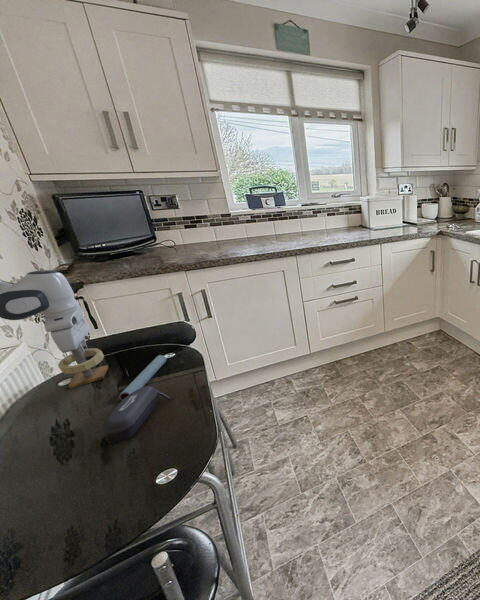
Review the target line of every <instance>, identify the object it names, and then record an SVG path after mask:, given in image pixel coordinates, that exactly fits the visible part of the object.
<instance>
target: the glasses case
mask: <svg viewBox="0 0 480 600" xmlns="http://www.w3.org/2000/svg"><path fill="white" fill-rule="evenodd" d="M159 396H162V397H163V398H165V399H167V400H169V401H170V400H171V397H169V396H168V395H167V394H165V393H163V392H161V391H160V390H158V389H156V388H154V386H148V385H147V386H143V387H142V388H140V389H138V390H136V391H134V392H132V393H131V394H130V395H128V396H127V397H126V398H124V399H123V400H121V401H120V402H119V403H118V404H117V405H115V407H114V408H113V410H111V412H110V413H109V415H108V417H107V418H106V421H105V422H104V425H103V426H104V427H103V431H104V433H105V434H106V435H108V436H111V437H112V438H113V439H114V440H116V441H117V442H119V441H120V442H121V441H125V440H128V439H130V438H132V437H133V436H134V435H136V433H137V432H138V430H139V429H140V428H141V427H142V426H143V424H144V423H145V422H146V420H147V419H148V418H149V416H150V415H151V414H153V411H154V410H155V409H156V408H157V406H158V403H159Z"/></svg>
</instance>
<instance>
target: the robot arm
mask: <svg viewBox="0 0 480 600" xmlns="http://www.w3.org/2000/svg"><path fill="white" fill-rule="evenodd" d="M40 313H42V314H43V317H44V320H45V323H44V329H45V331H46V333H50V336H51V338H52V340H53V342H54V343H55V345H56V347H57V348H58V350H59V351H60V352H62V354H63V353H65V354H66V353H69V352H70V353H71V351H74V350H76V349H77V348H78V347H79V346H80V348H81V350H82V352H83V354H85V352H86V351H85V349H89V348H88V346H87V341H86V336H87V335H88V333H89V332H90V330H91V328H90V325H89V323H88V321H87V319H86V316H85V313H84V311H83V309H82V307H81V305H80V303H79V301H78V300H77V299H76V298H75V293H74V290H73V289H72V286H71V284H70V282H69V281H68V280H67V278H66V276H64V274H63V273H62V272H59V271H57V270H53V269H52V270H51V269H43V270H33V271H30V272H27V273H26V275H24V276H23V277H22V278H21V279H19V280H18V281H17V282H9V281H5V280H2V279H0V318H1V319H4V320H7V321H20V320H24V319H28V318H31V317H34V316H35V315H37V314H40Z"/></svg>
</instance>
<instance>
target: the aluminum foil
mask: <svg viewBox="0 0 480 600" xmlns="http://www.w3.org/2000/svg"><path fill="white" fill-rule="evenodd" d="M167 360H168V359H167V357H166V356H165V355H162V354H159V355H157V356H156V357H155V358H154V359H152V361H151V362H150V363H149V364H148V365H147V366H146V367H145V368H144V369H143V370H142V371H141V372H140V373H139V374H138V375H137V376H136V377H135V378H134V379H133V380H132V381H131V382H130V383H129V384H128V386H126V387H125V388H124V389H123V390H122V391H121V392H120V393H119V395H118V398H119V399H120V400H121V401H122V400H123V399H124V398H126V397H127V396H128V395H130V394H131V393H132V392H134V391H136V390H138V389H140V388H142V387H145V385H146V384H147V383H148V382H149V381H150V380H151V379H152V378H153V377H154V375H156V373H157V372H158V371H159V370H160V368H162V367H163V365H164V364H166V363H167Z"/></svg>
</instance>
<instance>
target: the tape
mask: <svg viewBox="0 0 480 600" xmlns="http://www.w3.org/2000/svg"><path fill="white" fill-rule="evenodd" d="M85 351H86V352H85V354H84V356H85V358H86V357H87V358H88V357H91V358H90V359H88V360H87V361H86V362H84V363H81V364H77V363H76V364H73V363H74V362H76V360H75V358H74V356H73V354H72V353H71V354H69V355H67V356H65V357H64V358H62V359H61V360H60V361H59V362H58V365H57V367H58V369H59V371H60V372H61V373H63V374H64V375H71V374H72V375H73V374H74V375H75V374H76V373H80V372H82V371H85V370H88V369H90V368H91V369H93V368H95V367H96V366H97V365H99V364H100V363H101V362H102V361H103V360H104V358H105V355H104V353H103V351H102V349H99V348H98V347H97V348H96V347H94V348H93V347H92V348H88V349H85ZM71 364H73V365H71Z"/></svg>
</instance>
